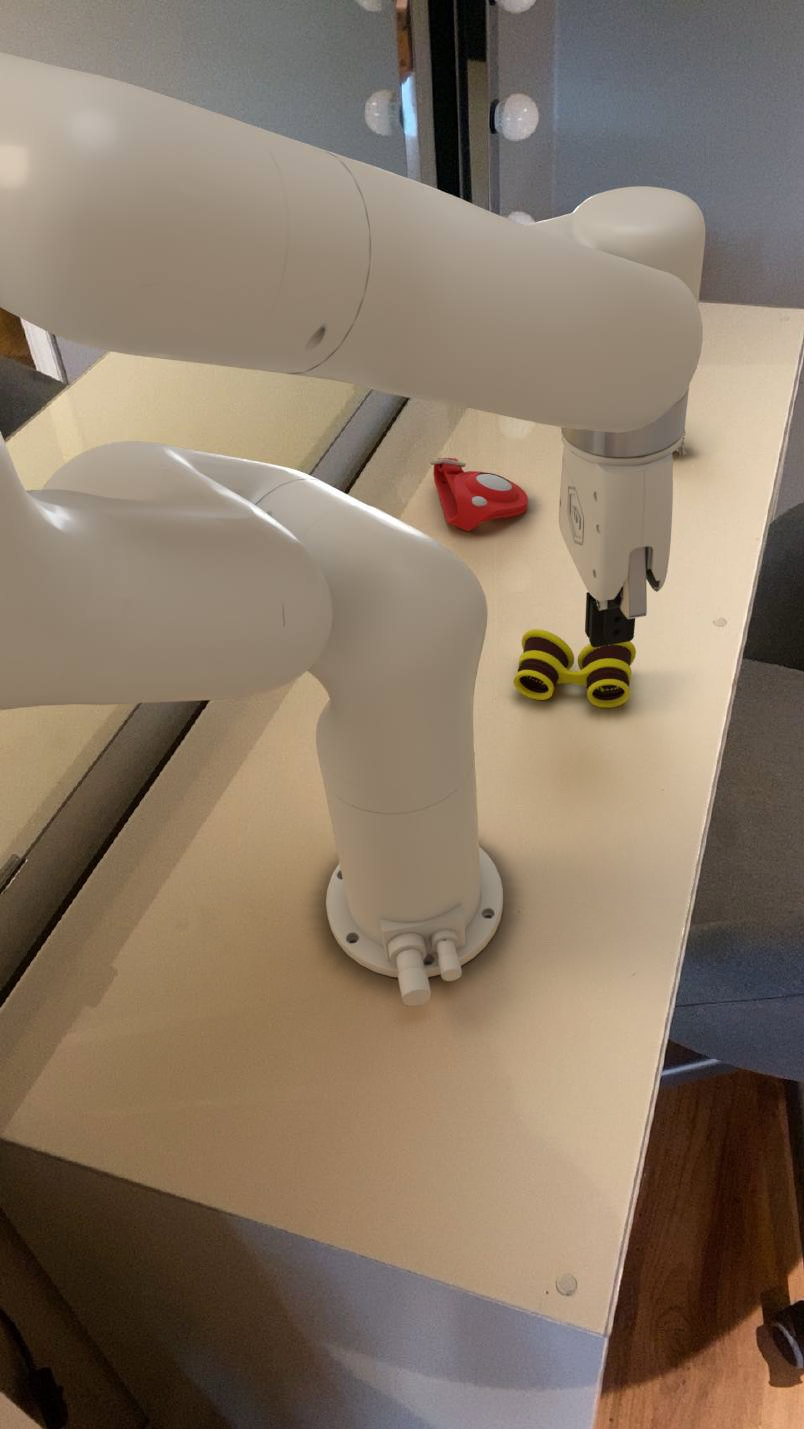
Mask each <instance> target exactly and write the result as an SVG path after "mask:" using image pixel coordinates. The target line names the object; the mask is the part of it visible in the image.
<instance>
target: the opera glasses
mask: <svg viewBox="0 0 804 1429" xmlns="http://www.w3.org/2000/svg"><path fill="white" fill-rule="evenodd" d="M521 647H522V654H520V656H519V660H518V668H517V673H516V674H515V676H514V678H513V684H514V688H516V690H517V691H518V692H519V693H520V694H521V695H523V696H524V697H527V698H529V699H532V700H537V701H545V700H548V699H550V698H551V697H552V696H553V693H554V691H555V688H556V686H557V685H560V684H575V685H580V686H583V687H586V690H587V692H586V694H587V696H586V697H587V699H588V701H589V703H591V705H594V706H596V707H599V708H606V709H610V708H615V707H619V706H621V705H623V704H625V703H626V702H627V701H628V700H629V699H630V696H631V691H630V682H631V678H632V668H631V665H632V664H633V662H634V661H635V660H636V656H637V650H636V646H635V645H634V643H633V642H631V641H629V642H624V643H618V644H613V645H607V646H601V647H595V648H594V647H592V646H591V644H590V643H588V644H587V645H586V646H585V647H583V648H582V649H581V651H580V652H579V654H578V657H577V665H578V668H579V669H580V670H578V671H576V670H575V671H574V670H571V668H572V667H573V665H574V664H575V655H574V652H573V650H572V648H571V647H570V646H569V644H568V643H567V642H566V641H564V640H563V639H562V638H561V637H559V635H557V634H554V633H552V632H550V631H549V630H548V631H547V630H544V629H539V628H537V629H536V628H533V629H529V630H527V631H526V632H524V634H522V637H521Z"/></svg>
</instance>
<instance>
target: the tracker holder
mask: <svg viewBox="0 0 804 1429" xmlns="http://www.w3.org/2000/svg"><path fill="white" fill-rule="evenodd" d="M429 464H430V465H433V472H432V473H433V481H434V484H435V487H436V489H437V490H436V491H437V492H438V495H439V499H440V502H441V505H442V510H443V513H444V516H445V520H446V522H447V523H448V525H451V526H454V527H457V528H459V529H460V530H463V531H466V532H470V531H472V530H474V529H475V528H476V527H478V526H479V525H480V524H483V523H486V522H488V521H492V520H495V519H502V518H511V517H515V516H519V515H523V514H524V513H525V512H526V511H527V509H528V506H529V505H528V504H529V497H528V494H527V493H526V491H525V490H523V488H522V487H521V486H520V485H518V484H516V483H515V482H514V481H511V480H510V479H507V478H505V477H504V476H501V475H499V474H495V473H491V472H486V471H478V470H477V471H476V470H475V471H474V470H469V471H464V470H463V468H466V465H467V464H466V462H462V461H459V459H457V458H456V457H449V456H444V457H437V459H433V460H430V461H429Z"/></svg>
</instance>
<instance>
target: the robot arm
mask: <svg viewBox="0 0 804 1429" xmlns="http://www.w3.org/2000/svg"><path fill="white" fill-rule="evenodd" d="M705 223H706V222H705V217H704V214H703V212H702V210H701V208H700V207H699V205H698V204H697V203H696V201H694V200H693V199H692V198H690V197H689V196H688V195H686V194H684V193H682V192H679V191H677V190H673V189H668V188H664V187H657V186H644V185H643V186H640V185H639V186H626V187H618V188H613V189H610V190H606V191H601V192H599V193H597V194H594V195H592V196H590V197H588V198H587V199H585V200H584V201H583V202H582V203H579V205H578V206H577V207H576V208H574V210H573V212H570V213H567V214H564V215H560V216H556V217H552V218H549V219H545V220H540V221H535V222H531V223H527V224H524V223H521V222H519V221H515V220H513V219H510V218H507V217H505V216H502V215H500V214H497V213H494V212H493V211H490V210H488V209H485V208H483V207H480V206H478V205H476V204H474V203H471V202H469V201H467V200H465V199H463V198H460V197H457V196H456V195H453V194H451V193H447V192H445V191H442V190H440V189H438V188H435V187H433V186H430V185H428V184H425V183H422V182H420V181H417V180H414V179H411V178H408V177H406V176H402V175H400V174H396V173H394V172H391V171H389V170H385V169H383V168H380V167H377V166H375V165H372V164H369V163H366V162H363V161H359V160H357V159H354V158H351V157H347V156H344V155H341V154H338V153H335V152H333V151H332V152H331V151H329V150H326V149H324V148H320V147H317V146H314V145H311V144H308V143H306V142H303V141H299V140H297V139H293V138H290V137H288V136H285V135H282V134H279V133H276V132H273V131H270V130H267V129H264V128H262V127H259V126H256V125H253V124H250V123H247V122H244V121H242V120H239V119H236V118H232V117H230V116H227V115H224V114H221V113H218V112H215V111H213V110H209V109H206V108H203V107H201V106H198V105H194V104H191V103H189V102H187V101H183V100H179V99H177V98H174V97H171V96H169V95H165V94H163V93H159V92H157V91H153V90H151V89H147V88H145V87H141V86H139V85H136V84H133V83H132V84H131V83H129V82H126V81H123V80H119V79H116V78H111V77H107V76H104V75H99V74H95V73H91V72H87V71H81V70H77V69H71V68H67V67H63V66H59V65H54V64H50V63H46V62H42V61H39V60H36V59H35V60H34V59H30V58H25V57H22V56H18V55H14V54H10V53H5V52H1V51H0V309H3V310H4V311H6V312H8V313H10V314H12V315H14V316H15V317H17V318H20V319H22V320H23V321H26V322H27V323H30V324H32V325H33V326H35V327H37V328H40V329H41V330H44V331H46V332H48V333H50V334H51V335H54V336H56V337H58V338H60V339H63V340H65V341H68V342H71V343H74V344H78V345H81V346H85V347H89V348H92V349H95V350H99V351H107V352H113V353H117V354H121V355H122V354H123V355H128V356H134V357H135V356H136V357H143V358H151V359H152V358H153V359H159V360H160V359H161V360H168V361H176V362H185V363H194V364H202V365H209V366H210V365H211V366H218V367H228V368H235V369H244V370H253V371H261V372H266V373H267V372H269V373H277V374H284V375H290V376H291V375H292V376H298V377H299V376H300V377H306V378H314V379H322V380H329V381H334V382H339V383H345V384H351V385H355V386H357V387H361V388H365V389H369V390H373V391H377V392H381V393H384V394H389V395H393V396H398V397H402V398H403V397H404V398H408V399H413V400H421V401H426V402H433V403H437V404H438V403H439V404H444V405H449V406H456V407H460V408H461V407H462V408H466V409H471V410H475V411H480V412H485V413H490V414H494V415H499V416H503V417H507V418H513V419H517V420H522V421H527V422H531V423H536V424H542V425H546V426H553V427H558V428H560V439H561V442H562V444H563V448H562V449H563V450H562V459H561V473H560V487H559V504H558V526H559V530H560V533H561V537H562V539H563V541H564V543H565V546H566V548H567V550H568V552H569V555H570V557H571V560H572V562H573V564H574V565H575V567H576V570H577V572H578V574H579V576H580V578H581V580H582V582H583V584H584V586H585V588H586V591H587V592H586V595H585V596H586V597H585V621H584V622H585V623H584V632H585V634H586V637H587V638H588V642H589V644H591V646H592V647H594V648H595V647H599V648H600V647H601V646H607V645H613V644H618V643H624V642H629V641H630V642H631V641H632V640H633V639H634V637H635V626H636V619H637V618H642V617H647V614H648V613H647V612H648V610H647V609H648V604H647V603H648V602H647V601H648V598H647V597H648V595H647V594H648V593H647V592H648V591H647V590H648V589H647V583H648V584H649V586H650V587H651V589H652V590H653V591H655V592H656V593H657V592H659V591H660V590H661V589H662V588H663V587H664V585H665V582H666V579H667V574H668V568H669V562H670V553H671V542H672V525H673V500H674V493H673V492H674V457H673V456H674V455H673V452H675V451H676V449H677V448H678V447H679V446H680V444H681V442H682V440H683V438H684V439H685V436H684V429H685V428H686V420H687V419H686V418H687V410H688V409H687V408H688V400H689V391H690V384H691V382H692V380H693V377H694V375H695V373H696V371H697V369H698V364H699V361H700V357H701V354H702V347H703V334H704V333H703V331H704V330H703V328H704V327H703V321H702V314H701V311H700V308H699V301H700V292H701V284H702V276H703V274H702V273H703V266H704V257H705V256H704V255H705V247H706V233H707V232H706V230H707V229H706V224H705ZM685 430H686V429H685ZM683 441H684V440H683ZM487 601H488V600H487V597H486V594H485V591H484V588H483V586H482V584H481V582H480V580H479V578H478V577H477V576H476V574H475V572H473V570H472V568H470V567H469V565H468V564H467V563H465V561H464V560H462V558H461V557H460V556H458V555H457V554H456V553H455V552H454V551H452V550H451V549H450V548H448V547H447V546H445V545H444V544H442V543H441V542H440V541H438V540H436V539H435V538H433V537H432V536H430V535H428V534H426V533H425V532H423V531H421V530H419V529H417V528H416V527H414V526H412V525H410V524H408V523H406V522H405V521H402V520H401V519H399V518H397V517H394V516H392V515H390V514H389V513H387V512H385V511H382V510H381V509H379V508H377V507H374V506H372V505H368V504H366V503H364V502H362V501H361V500H359V499H356V498H355V497H353V496H351V495H349V494H347V493H345V492H344V491H341V490H339V489H337V488H336V487H334V486H332V485H330V484H328V482H327V483H326V482H325V481H322V480H320V479H319V478H317V477H314V476H312V475H310V474H307V473H305V472H304V471H303V472H302V471H300V470H297V469H294V468H290V467H286V466H282V465H277V464H273V463H267V462H263V461H257V460H253V459H252V460H251V459H246V458H241V457H236V456H229V455H225V454H219V453H213V452H209V451H202V450H197V449H191V448H186V447H181V446H175V445H172V444H171V445H170V444H165V443H160V442H159V443H158V442H152V441H141V440H124V441H123V440H122V441H114V442H110V443H104V444H102V445H101V444H100V445H98V446H95V447H92V448H90V449H88V450H86V451H85V450H84V451H83V452H81V453H79V454H78V455H75V456H74V457H73V458H71V459H70V460H68V461H67V462H65V463H64V464H63V465H62V466H60V467H59V468H58V469H56V471H55V472H54V473H53V474H52V475H51V476H50V477H49V478H48V480H47V481H46V482H45V483H44V485H43V486H42V488H41V489H28V490H26V489H25V487H24V484H23V483H22V482H21V480H20V477H19V475H18V473H17V470H16V467H15V465H14V462H13V459H12V456H11V454H10V452H9V449H8V446H7V444H6V442H5V439H4V437H3V434H2V432H1V431H0V711H7V710H8V711H9V710H14V709H24V708H34V707H42V706H43V707H45V706H69V705H84V706H85V705H90V706H91V705H92V706H93V705H95V706H98V705H99V706H105V705H106V706H107V705H109V706H110V705H129V704H130V705H131V704H132V705H133V704H155V703H173V702H174V703H175V702H178V703H179V702H196V701H197V702H198V701H200V702H201V701H221V700H237V699H245V698H249V697H254V696H258V695H263V694H268V693H270V692H273V691H275V690H278V689H281V688H283V687H284V686H286V685H288V684H291V683H293V682H294V681H295V680H297V679H299V678H300V677H302V675H304V674H305V673H306V672H308V673H309V674H310V675H312V676H313V677H314V678H315V679H316V680H317V681H318V682H319V683H320V684H321V685H322V687H323V688H324V690H325V691H326V693H327V696H328V698H329V700H328V701H327V702H326V704H325V705H324V707H323V708H322V709H321V712H320V713H319V716H318V718H317V722H316V728H315V747H316V755H317V759H318V765H319V770H320V774H321V777H322V783H323V787H324V793H325V797H326V803H327V807H328V812H329V818H330V822H331V828H332V832H333V837H334V844H335V848H336V852H337V858H338V864H337V866H336V867H335V869H334V871H333V873H332V874H331V876H330V880H329V884H328V885H327V886H328V887H327V889H326V898H325V906H326V914H327V915H326V916H327V919H328V924H329V927H330V931H331V932H332V935H333V936H334V938H335V941H336V942H337V944H338V945H339V946H340V947H341V949H342V950H343V951H344V952H345V953H346V955H347V956H348V957H350V958H351V959H353V960H354V961H355V962H356V963H358V964H359V965H360V966H362V967H364V968H366V969H368V970H370V971H372V972H374V973H376V974H380V975H383V976H387V977H393V978H397V980H398V985H399V992H400V996H401V1001H402V1004H403V1005H405V1006H407V1007H412V1008H413V1007H419V1006H422V1005H425V1004H427V1003H428V1002H429V1001H431V999H432V995H433V994H432V991H431V986H430V981H429V978H430V977H431V978H432V977H434V976H439V975H440V977H441V979H442V981H446V982H453V981H455V980H458V979H460V978H461V977H462V976H463V970H462V966H464V965H465V964H467V963H468V962H470V961H471V960H473V959H474V958H475V957H476V956H477V955H478V954H480V952H481V951H483V950H484V949H485V948H486V947H487V945H488V944H489V943H490V942H491V940H492V938H493V937H494V936H495V934H496V931H497V930H498V927H499V925H500V922H501V919H502V915H503V909H504V890H503V884H502V878H501V875H500V874H499V871H498V868H497V866H496V863H494V862H493V860H492V859H491V857H490V855H489V854H488V852H486V851H485V850H484V849H483V848H482V847H480V841H479V821H478V820H479V817H478V796H477V776H476V775H477V773H476V754H475V738H474V737H475V735H474V734H475V732H474V700H475V699H474V698H475V690H476V682H477V675H478V672H479V664H480V660H481V656H482V652H483V648H484V643H485V639H486V634H487V628H488V617H489V611H488V602H487Z"/></svg>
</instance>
